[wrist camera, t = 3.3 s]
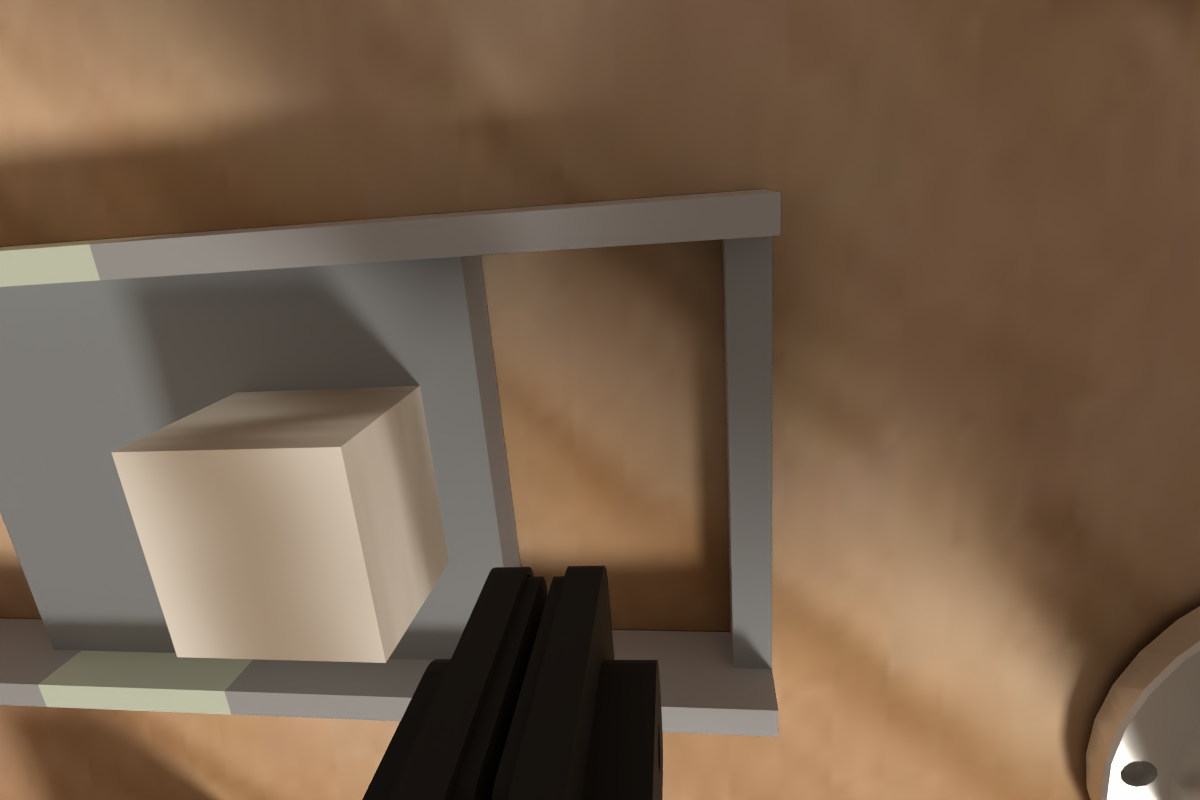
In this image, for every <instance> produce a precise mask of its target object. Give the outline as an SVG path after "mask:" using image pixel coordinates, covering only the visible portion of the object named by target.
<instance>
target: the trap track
mask: <svg viewBox="0 0 1200 800" xmlns="http://www.w3.org/2000/svg"><path fill="white" fill-rule="evenodd" d="M779 235H781V192H777V191H773V190H768V189H757V190H744V191H731V192H718V193H705V194H692V195H679V196H665V197H652V198H639V199H626V200H613V201H600V202H587V203H574V204H560V205H547V206H534V207H521V208H508V209H495V210H482V211H469V212H455V213H442V214H429V215H416V216H403V217H390V218H377V219H364V220H350V221H337V222H324V223H311V224H298V225H285V226H272V227H259V228H245V229H232V230H219V231H206V232H193V233H180V234H167V235H154V236H140V237H127V238H114V239H101V240H88V241H75V242H62V243H49V244H35V245H22V246H9V247H0V513H1V515H2V518H3V520H4V523H5V526H6V528H7V531H8V533H9V536H10V538H11V541H12V544H13V546H14V549H15V551H16V554H17V556H18V559H19V562H20V564H21V567H22V569H23V572H24V574H25V577H26V580H27V582H28V585H29V587H30V590H31V593H32V595H33V598H34V600H35V603H36V605H37V608H38V611H39V613H40V616H41V618H42V619H2V618H0V705H13V706H38V707H62V708H87V709H111V710H136V711H160V712H185V713H209V714H234V715H258V716H283V717H307V718H331V719H356V720H380V721H401V719H402V717H403V715H404V713H405V711H406V709H407V707H408V705H409V703H410V701H411V699H412V697H413V695H414V692H415V690H416V688H417V686H418V684H419V682H420V680H421V678H422V676H423V674H424V672H425V670H426V668H427V667H428V665H429V664H430V662H432V661H433V660H435V659H451V658H452V656H453V653H454V651H455V649H456V647H457V644H458V642H459V640H460V638H461V635H462V633H463V631H464V629H465V626H466V624H467V622H468V620H469V617H470V615H471V613H472V611H473V608H474V606H475V604H476V602H477V599H478V597H479V595H480V593H481V590H482V588H483V586H484V584H485V581H486V579H487V577H488V575H489V572H490V571H491V569H492V568H494V567H521V564H520V556H519V548H518V540H517V533H516V525H515V517H514V509H513V502H512V494H511V486H510V478H509V470H508V463H507V455H506V447H505V439H504V432H503V424H502V416H501V408H500V401H499V393H498V385H497V377H496V370H495V362H494V354H493V346H492V338H491V331H490V323H489V315H488V307H487V300H486V292H485V284H484V276H483V269H482V261H481V255H491V254H506V253H522V252H537V251H552V250H567V249H582V248H597V247H612V246H628V245H643V244H658V243H673V242H688V241H703V240H719V239H723V285H724V333H725V381H726V430H727V478H728V527H729V575H730V624H731V632H696V631H643V630H612V636H613V647H614V658H615V660H658V664H659V675H660V691H661V709H662V732H674V733H699V734H723V735H748V736H772V737H778V706H777V699H776V693H775V687H774V680H773V674H772V236H779ZM397 386H420V389H421V395H422V401H423V407H424V413H425V419H426V425H427V431H428V437H429V443H430V449H431V455H432V461H433V467H434V474H435V480H436V486H437V492H438V498H439V504H440V510H441V516H442V522H443V528H444V534H445V540H446V546H447V552H448V558H449V563H448V565H447V567H446V568H445V570H444V571H443V573H442V575H441V576H440V578H439V579H438V581H437V583H436V584H435V586H434V587H433V589H432V590H431V592H430V594H429V595H428V597H427V598H426V600H425V602H424V603H423V605H422V606H421V608H420V610H419V611H418V613H417V614H416V616H415V617H414V619H413V621H412V622H411V624H410V625H409V627H408V629H407V630H406V632H405V633H404V635H403V636H402V638H401V640H400V641H399V643H398V644H397V646H396V648H395V649H394V651H393V652H392V654H391V656H390V657H389V659H388V660H387V662H386V663H371V662H334V661H298V660H261V659H225V658H188V657H177V655H176V652H175V648H174V645H173V642H172V639H171V636H170V633H169V630H168V627H167V624H166V620H165V617H164V614H163V611H162V608H161V605H160V602H159V599H158V596H157V593H156V589H155V586H154V583H153V580H152V577H151V574H150V571H149V568H148V565H147V562H146V558H145V555H144V552H143V549H142V546H141V543H140V540H139V537H138V534H137V530H136V527H135V524H134V521H133V518H132V515H131V512H130V509H129V506H128V503H127V499H126V496H125V493H124V490H123V487H122V484H121V481H120V478H119V475H118V472H117V468H116V465H115V462H114V459H113V456H112V453H111V452H113V451H115V450H117V449H119V448H121V447H124V446H126V445H128V444H130V443H132V442H134V441H136V440H138V439H140V438H142V437H144V436H147V435H149V434H151V433H153V432H155V431H157V430H159V429H161V428H163V427H165V426H167V425H169V424H172V423H174V422H176V421H178V420H180V419H182V418H184V417H186V416H188V415H190V414H192V413H195V412H197V411H199V410H201V409H203V408H205V407H207V406H209V405H211V404H213V403H215V402H218V401H220V400H222V399H224V398H226V397H228V396H230V395H232V394H234V393H236V392H262V391H289V390H316V389H343V388H370V387H397Z"/></svg>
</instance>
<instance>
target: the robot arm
mask: <svg viewBox="0 0 1200 800" xmlns="http://www.w3.org/2000/svg"><path fill="white" fill-rule="evenodd" d="M1086 784H1087V790H1088V794H1089V797H1090V800H1200V606H1199V607H1198V608H1196V609H1194V610H1193V611H1191V612H1189V613H1188V614H1186V615H1185V616H1183V617H1181V618H1180V619H1178V620H1176V621H1175V622H1174V623H1173V624H1172V625H1171V626H1169V627H1168V628H1167V629H1166V630H1165V631H1164V632H1162V633H1161V634H1160V635H1159V636H1158V637H1157V638H1155V639H1154V640H1153V641H1152V642H1151V643H1150V644H1148V645H1147V646H1146V647H1145V648H1144V649H1142V650H1141V651H1140V652H1139V653H1138V655H1137V656H1136V657H1135V658H1134V660H1133V661H1132V662H1131V663H1130V664H1129V666H1128V667H1127V668H1126V669H1125V671H1124V672H1123V673H1122V674H1121V675H1120V677H1119V678H1118V679H1117V680H1116V682H1115V683H1114V684H1113V685H1112V687H1111V689H1110V691H1109V693H1108V695H1107V697H1106V699H1105V701H1104V702H1103V704H1102V706H1101V708H1100V710H1099V712H1098V714H1097V716H1096V718H1095V720H1094V724H1093V728H1092V732H1091V736H1090V740H1089V744H1088V748H1087V752H1086ZM662 785H663V739H662V709H661V691H660V675H659V664H658V660H615V658H614V647H613V636H612V624H611V613H610V601H609V590H608V578H607V571H606V567H605V566H569V567H567V570H566V573H565V576H562V577H553V580H552V583H551V586H550V590H549V593H548V595H547V587H546V581H545V578H544V577H533V572H532V569H531V568H530V567H494V568H492V569H491V571H490V572H489V575H488V577H487V579H486V581H485V584H484V586H483V588H482V590H481V593H480V595H479V597H478V599H477V602H476V604H475V606H474V608H473V611H472V613H471V615H470V617H469V620H468V622H467V624H466V626H465V629H464V631H463V633H462V635H461V638H460V640H459V642H458V644H457V647H456V649H455V651H454V653H453V656H452V658H451V659H435V660H433V661H432V662H430V664H429V665H428V667H427V668H426V670H425V672H424V674H423V676H422V678H421V680H420V682H419V684H418V686H417V688H416V690H415V692H414V695H413V697H412V699H411V701H410V703H409V705H408V707H407V709H406V711H405V713H404V715H403V717H402V719H401V721H400V723H399V725H398V727H397V730H396V732H395V734H394V736H393V738H392V740H391V742H390V744H389V746H388V748H387V750H386V752H385V754H384V756H383V758H382V760H381V762H380V765H379V767H378V769H377V771H376V773H375V775H374V777H373V779H372V781H371V783H370V785H369V787H368V789H367V791H366V793H365V795H364V797H363V800H662Z"/></svg>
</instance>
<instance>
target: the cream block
mask: <svg viewBox="0 0 1200 800" xmlns="http://www.w3.org/2000/svg"><path fill="white" fill-rule="evenodd" d="M111 453H112V456H113V459H114V462H115V465H116V468H117V472H118V475H119V478H120V481H121V484H122V487H123V490H124V493H125V496H126V499H127V503H128V506H129V509H130V512H131V515H132V518H133V521H134V524H135V527H136V530H137V534H138V537H139V540H140V543H141V546H142V549H143V552H144V555H145V558H146V562H147V565H148V568H149V571H150V574H151V577H152V580H153V583H154V586H155V589H156V593H157V596H158V599H159V602H160V605H161V608H162V611H163V614H164V617H165V620H166V624H167V627H168V630H169V633H170V636H171V639H172V642H173V645H174V648H175V652H176V655H177V657H188V658H225V659H261V660H298V661H334V662H371V663H386V662H387V660H388V659H389V657H390V656H391V654H392V652H393V651H394V649H395V648H396V646H397V644H398V643H399V641H400V640H401V638H402V636H403V635H404V633H405V632H406V630H407V629H408V627H409V625H410V624H411V622H412V621H413V619H414V617H415V616H416V614H417V613H418V611H419V610H420V608H421V606H422V605H423V603H424V602H425V600H426V598H427V597H428V595H429V594H430V592H431V590H432V589H433V587H434V586H435V584H436V583H437V581H438V579H439V578H440V576H441V575H442V573H443V571H444V570H445V568H446V567H447V565H448V563H449V558H448V552H447V546H446V540H445V534H444V528H443V522H442V516H441V510H440V504H439V498H438V492H437V486H436V480H435V474H434V467H433V461H432V455H431V449H430V443H429V437H428V431H427V425H426V419H425V413H424V407H423V401H422V395H421V389H420V386H397V387H370V388H343V389H316V390H289V391H262V392H236V393H234V394H232V395H230V396H228V397H226V398H224V399H222V400H220V401H218V402H215V403H213V404H211V405H209V406H207V407H205V408H203V409H201V410H199V411H197V412H195V413H192V414H190V415H188V416H186V417H184V418H182V419H180V420H178V421H176V422H174V423H172V424H169V425H167V426H165V427H163V428H161V429H159V430H157V431H155V432H153V433H151V434H149V435H147V436H144V437H142V438H140V439H138V440H136V441H134V442H132V443H130V444H128V445H126V446H124V447H121V448H119V449H117V450H115V451H113V452H111Z"/></svg>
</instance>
